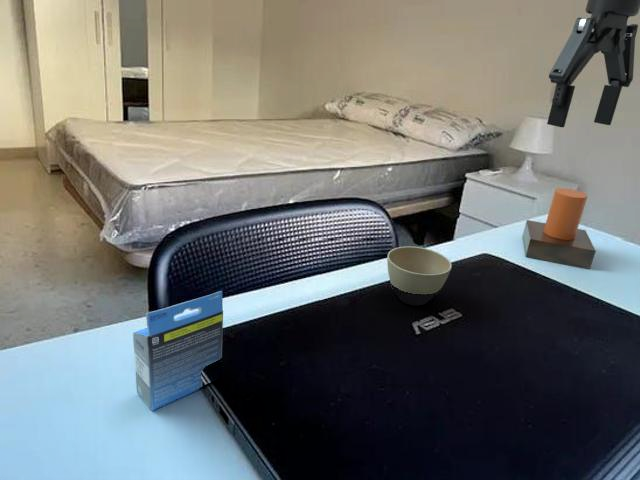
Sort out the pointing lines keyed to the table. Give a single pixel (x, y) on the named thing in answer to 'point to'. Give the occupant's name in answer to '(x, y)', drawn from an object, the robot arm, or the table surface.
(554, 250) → the grey shallow square box
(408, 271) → the beige bowl
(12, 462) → the table surface
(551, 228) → the orange drum
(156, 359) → the label tape box
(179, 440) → the table surface
